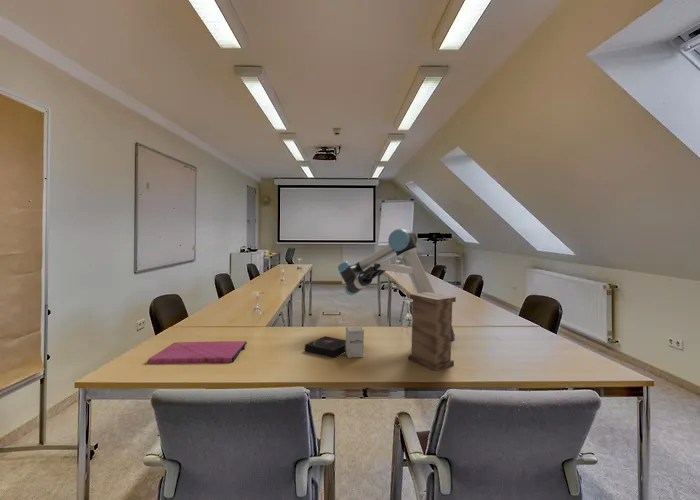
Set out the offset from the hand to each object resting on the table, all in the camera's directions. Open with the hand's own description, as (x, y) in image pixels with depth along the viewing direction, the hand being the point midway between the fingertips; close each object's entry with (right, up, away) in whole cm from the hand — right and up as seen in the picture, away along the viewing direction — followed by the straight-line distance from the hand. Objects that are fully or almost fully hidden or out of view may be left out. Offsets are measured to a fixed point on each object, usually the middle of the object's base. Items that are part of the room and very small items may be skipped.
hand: (387, 262), depth 181 cm
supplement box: (-17, -43, -16) cm, 49 cm away
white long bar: (+2, -4, -3) cm, 6 cm away
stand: (+17, -44, -24) cm, 53 cm away
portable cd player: (-30, -43, -9) cm, 53 cm away
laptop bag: (-87, -43, -16) cm, 98 cm away
